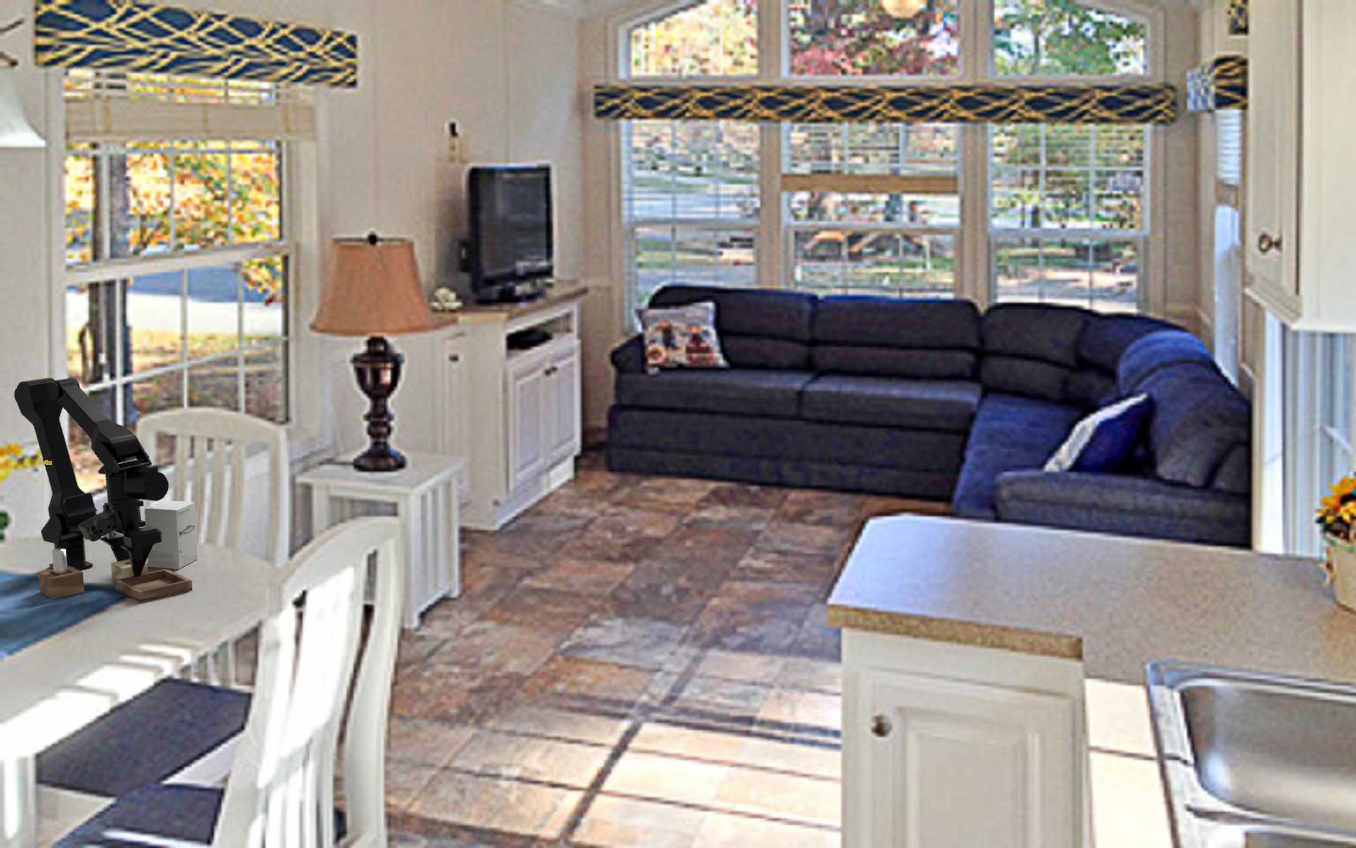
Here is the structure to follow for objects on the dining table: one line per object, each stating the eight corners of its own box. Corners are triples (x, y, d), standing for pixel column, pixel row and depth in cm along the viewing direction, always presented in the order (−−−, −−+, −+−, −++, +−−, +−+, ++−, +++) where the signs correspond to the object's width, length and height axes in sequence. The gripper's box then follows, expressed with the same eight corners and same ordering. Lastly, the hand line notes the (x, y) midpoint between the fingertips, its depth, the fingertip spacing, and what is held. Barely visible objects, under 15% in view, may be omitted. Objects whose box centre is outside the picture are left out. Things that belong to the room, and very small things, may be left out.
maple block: (112, 582, 267) (110, 562, 266) (136, 577, 270) (135, 557, 270) (123, 588, 263) (122, 568, 263) (148, 582, 267) (147, 562, 266)
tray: (114, 590, 262) (113, 580, 262) (166, 578, 270) (166, 568, 269) (139, 602, 255) (138, 592, 255) (192, 590, 263) (191, 580, 262)
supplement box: (179, 570, 275) (175, 510, 273) (146, 567, 277) (142, 508, 274) (199, 559, 282) (195, 501, 280) (167, 557, 284) (163, 499, 281)
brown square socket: (40, 592, 260) (38, 572, 259) (71, 585, 265) (69, 565, 264) (53, 599, 256) (51, 579, 255) (84, 592, 261) (83, 572, 260)
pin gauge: (53, 592, 260) (49, 549, 259) (65, 589, 262) (62, 547, 260) (58, 595, 259) (55, 552, 257) (71, 592, 260) (67, 550, 259)
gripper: (62, 498, 265) (70, 575, 267) (102, 510, 252) (110, 591, 254) (117, 488, 273) (125, 563, 275) (160, 500, 260) (167, 578, 262)
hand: (130, 574), depth 266 cm, fingers open, 5 cm apart
